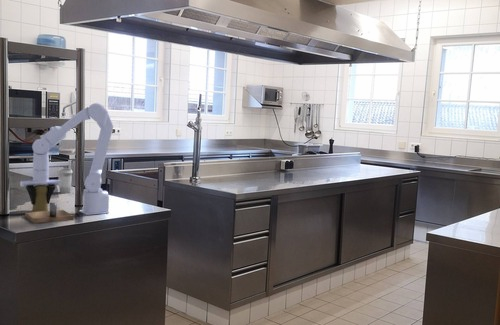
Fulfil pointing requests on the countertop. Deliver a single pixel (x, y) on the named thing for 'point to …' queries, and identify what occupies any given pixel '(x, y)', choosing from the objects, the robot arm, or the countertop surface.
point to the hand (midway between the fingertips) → (40, 203)
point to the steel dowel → (53, 209)
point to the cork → (40, 198)
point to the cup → (65, 180)
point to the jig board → (44, 216)
